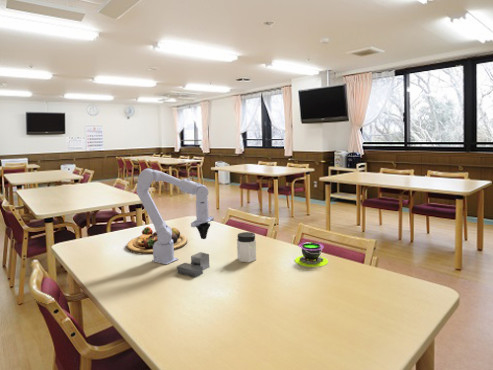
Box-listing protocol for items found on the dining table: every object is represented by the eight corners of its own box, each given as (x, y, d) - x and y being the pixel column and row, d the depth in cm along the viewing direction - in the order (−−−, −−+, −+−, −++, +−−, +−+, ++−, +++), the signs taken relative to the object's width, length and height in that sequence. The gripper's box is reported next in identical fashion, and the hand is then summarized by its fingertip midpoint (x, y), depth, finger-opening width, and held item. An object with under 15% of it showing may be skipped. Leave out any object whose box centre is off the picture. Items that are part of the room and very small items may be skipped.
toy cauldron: (313, 270, 148) (313, 245, 146) (287, 261, 159) (287, 237, 158) (334, 261, 158) (335, 237, 156) (308, 253, 169) (309, 231, 167)
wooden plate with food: (124, 241, 197) (122, 227, 195) (179, 233, 210) (178, 219, 208) (130, 260, 168) (129, 243, 167) (194, 249, 181) (193, 233, 180)
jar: (246, 264, 156) (245, 238, 155) (233, 259, 162) (233, 234, 161) (259, 258, 162) (259, 234, 161) (247, 254, 168) (247, 230, 167)
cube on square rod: (191, 269, 152) (190, 256, 151) (200, 264, 157) (199, 252, 156) (200, 271, 149) (200, 258, 148) (209, 267, 154) (208, 254, 153)
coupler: (177, 273, 148) (176, 266, 147) (197, 263, 159) (197, 256, 159) (195, 277, 142) (194, 270, 142) (215, 267, 154) (215, 260, 153)
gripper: (198, 214, 155) (200, 243, 156) (218, 208, 167) (219, 235, 168) (186, 212, 158) (188, 241, 160) (207, 207, 170) (208, 233, 172)
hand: (203, 238), depth 165 cm, fingers closed
